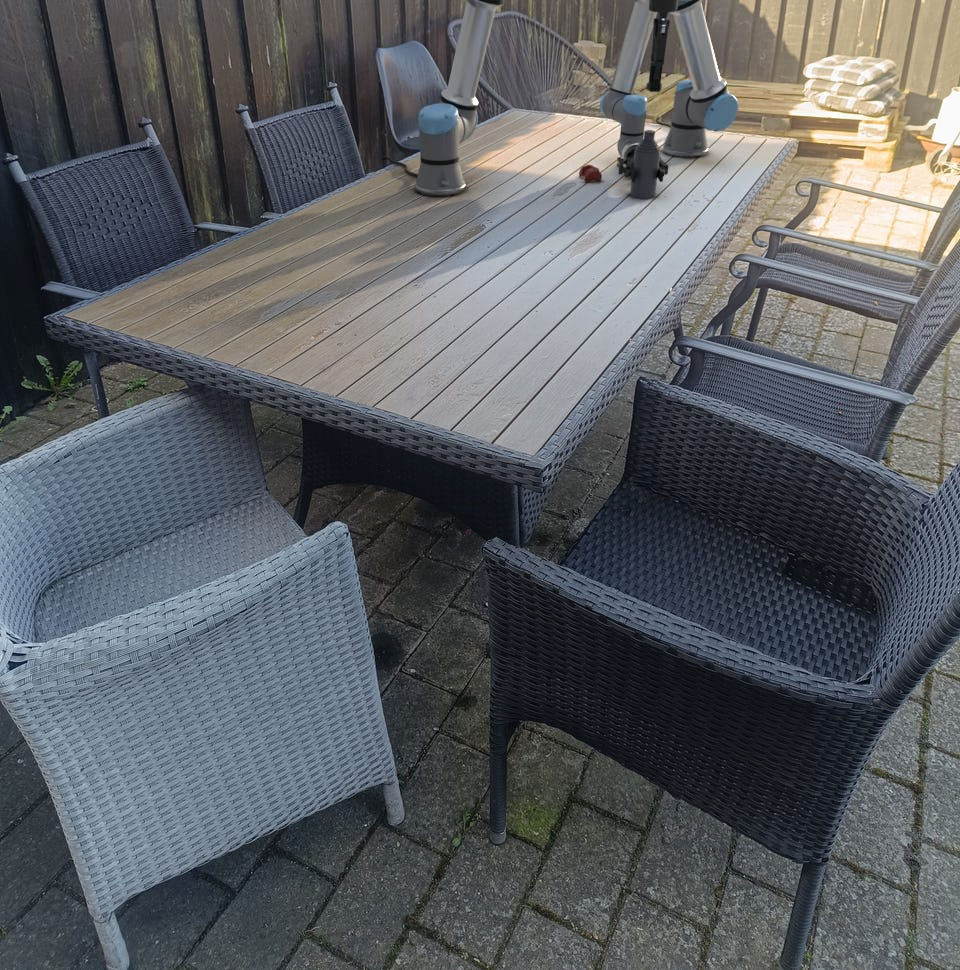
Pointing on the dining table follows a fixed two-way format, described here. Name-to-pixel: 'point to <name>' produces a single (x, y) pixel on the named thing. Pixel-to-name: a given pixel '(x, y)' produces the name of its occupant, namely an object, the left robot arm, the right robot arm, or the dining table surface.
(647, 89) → the cap
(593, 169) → the dental model
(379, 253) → the dining table surface
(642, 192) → the bottle
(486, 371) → the dining table surface
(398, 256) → the dining table surface
